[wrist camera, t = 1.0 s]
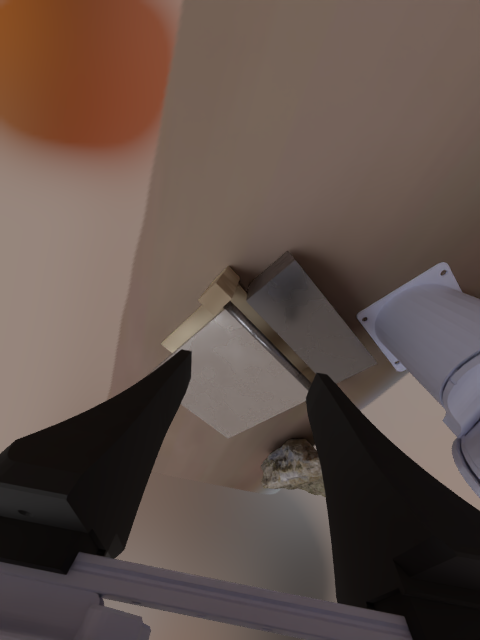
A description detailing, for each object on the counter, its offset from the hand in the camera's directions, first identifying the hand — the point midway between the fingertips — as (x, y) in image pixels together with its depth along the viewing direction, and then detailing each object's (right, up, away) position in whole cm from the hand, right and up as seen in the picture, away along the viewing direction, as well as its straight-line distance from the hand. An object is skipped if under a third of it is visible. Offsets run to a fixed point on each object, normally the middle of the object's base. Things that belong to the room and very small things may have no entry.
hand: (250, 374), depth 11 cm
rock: (+4, -14, +14) cm, 20 cm away
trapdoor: (+1, 0, +10) cm, 10 cm away
